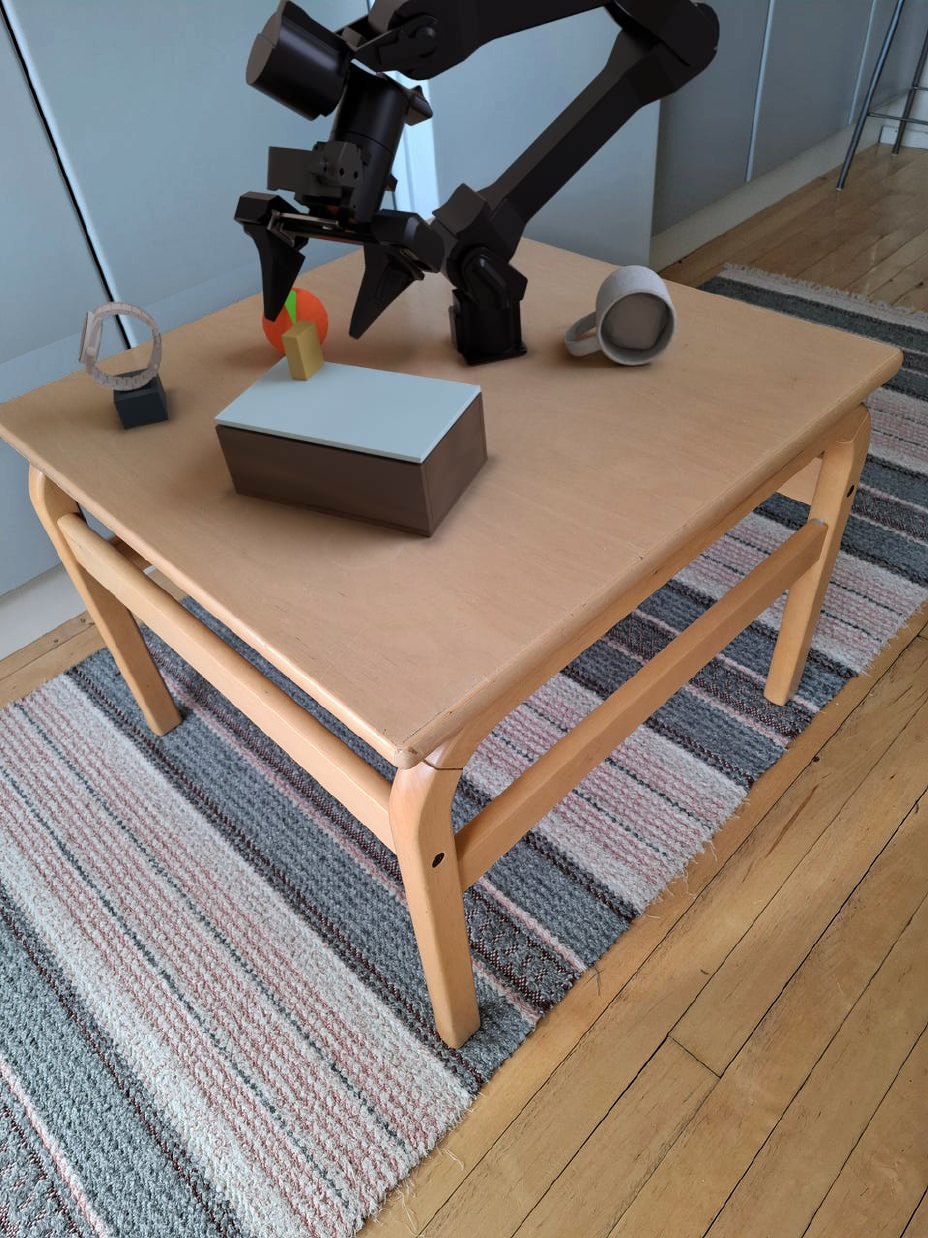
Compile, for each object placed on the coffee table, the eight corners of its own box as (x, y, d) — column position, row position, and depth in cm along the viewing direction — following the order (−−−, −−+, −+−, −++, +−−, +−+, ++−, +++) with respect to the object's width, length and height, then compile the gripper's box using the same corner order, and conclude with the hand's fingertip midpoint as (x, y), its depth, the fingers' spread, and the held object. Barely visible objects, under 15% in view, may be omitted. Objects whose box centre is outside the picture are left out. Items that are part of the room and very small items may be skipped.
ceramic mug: (664, 324, 95) (667, 251, 89) (675, 363, 89) (679, 287, 84) (562, 333, 96) (560, 262, 90) (566, 372, 90) (564, 298, 85)
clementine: (339, 366, 95) (325, 301, 90) (273, 378, 94) (256, 313, 89) (330, 332, 101) (317, 269, 96) (268, 344, 100) (252, 281, 95)
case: (304, 425, 87) (288, 361, 82) (488, 460, 80) (482, 391, 75) (236, 493, 80) (214, 426, 75) (430, 537, 73) (420, 467, 68)
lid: (286, 360, 82) (275, 312, 79) (480, 390, 75) (476, 340, 72) (214, 423, 75) (199, 374, 72) (421, 463, 68) (413, 411, 65)
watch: (104, 407, 93) (61, 305, 86) (182, 389, 94) (147, 287, 87) (104, 434, 89) (60, 330, 82) (186, 415, 90) (149, 311, 83)
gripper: (216, 87, 73) (165, 276, 75) (407, 100, 66) (346, 311, 67) (297, 158, 83) (250, 324, 85) (471, 177, 76) (417, 359, 77)
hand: (310, 328), depth 78 cm, fingers open, 9 cm apart
